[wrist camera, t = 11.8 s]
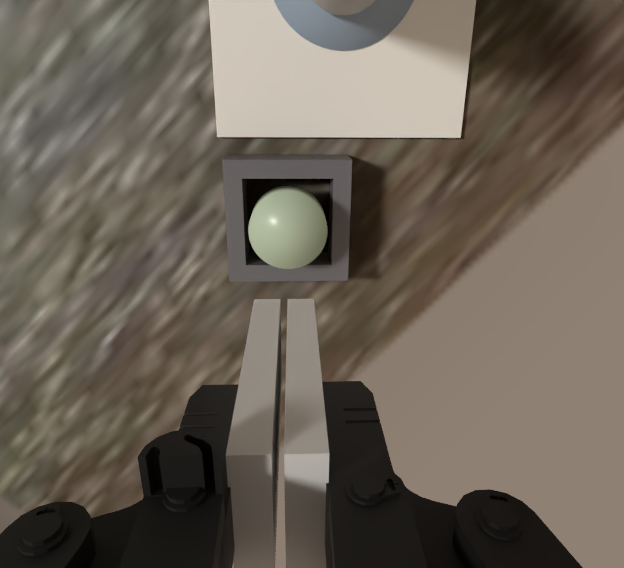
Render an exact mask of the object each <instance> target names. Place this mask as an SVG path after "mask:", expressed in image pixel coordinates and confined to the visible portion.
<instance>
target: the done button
mask: <svg viewBox="0 0 624 568" xmlns="http://www.w3.org/2000/svg"><path fill="white" fill-rule="evenodd" d="M327 232H328V231H327V223H326V219H325V215H324V211H323V208H322V206H321V204H320V203H319V201H318V200H317V199H316V197H315V196H314V195H312V194H311V193H310V192H308V191H307V190H305V189H303V188H300V187H297V186H289V185H286V186H279V187H276V188H273V189H271V190H269V191H268V192H266V193H265V194H264V195H262V196H261V197H260V199H259V200H258V201H257V203H256V204H255V207H254V209H253V212H252V215H251V218H250V221H249V227H248V234H249V240H250V243H251V245H252V248H253V249H254V251H255V252H256V254H257V255H258V256H259V257H260V258H261V259H262V260H263V261H265V262H266V263H268V264H269V265H272V266H274V267H277V268H282V269H295V268H299V267H302V266H305V265H307V264H309V263H310V262H312V261H313V260H314V259H315V258H316V257H317V256H318V255H319V254H320V253H321V251H322V250H323V248H324V246H325V243H326V239H327Z"/></svg>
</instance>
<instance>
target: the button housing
mask: <svg viewBox="0 0 624 568" xmlns="http://www.w3.org/2000/svg"><path fill="white" fill-rule="evenodd" d="M222 165H223V181H224V198H225V215H226V232H227V248H228V265H229V282H237V281H348V265H349V237H350V209H351V181H352V159H351V158H350V157H349V156H348V155H227V156H226V157H225V158H224V159H223V160H222ZM246 179H330V211H329V252H321V253H320V254H319V255H318V256H317V257H316V258H315V259H314V260H313V261H312V262H310V263H309V264H307V265H305V266H302V267H299V268H295V269H282V268H277V267H274V266H272V265H269V264H268V263H266V262H265V261H263V260H262V259H261V258H260V257H259V256H258V255H257V254H256V253H249V237H248V213H247V190H246Z"/></svg>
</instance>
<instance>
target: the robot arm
mask: <svg viewBox="0 0 624 568" xmlns="http://www.w3.org/2000/svg"><path fill="white" fill-rule="evenodd" d="M281 389H282V362H281V309H280V299H254V304H253V309H252V314H251V320H250V325H249V331H248V336H247V342H246V347H245V353H244V358H243V363H242V369H241V374H240V380H239V385H202V386H201V387H200V388H199V389H198V390H197V391H196V392H195V393H194V394H193V395H192V396H191V397H190V398H189V401H188V404H187V407H186V410H185V413H184V416H183V419H182V422H181V425H180V429H179V431H173V432H169V433H167V434H164V435H162V436H159V437H157V438H156V439H154V440H153V441H151V442H150V443H149V444H147V445H146V446H145V447H144V448H143V450H142V451H141V453H140V454H139V456H138V462H139V468H140V475H141V481H142V488H143V494H144V497H143V500H141V501H139V502H138V503H136V504H134V505H132V506H130V507H127V508H124V509H122V510H119V511H116V512H112V513H108V514H105V515H101V516H98V517H94V518H91V517H90V515H89V513H88V512H87V511H86V509H85V508H84V507H83V506H81V505H78V504H76V503H73V502H54V503H50V504H46V505H43V506H39V507H37V508H35V509H33V510H31V511H29V512H27V513H25V514H23V515H21V516H20V517H19V518H18V519H17V520H15V521H14V522H13V523H12V524H11V525H9V526H8V527H7V528H6V529H5V530H4V531H3V532H2V533H1V534H0V568H232V565H233V563H234V568H275V552H276V524H277V497H278V496H277V495H278V470H279V443H280V416H281ZM284 475H285V476H284V477H285V530H286V531H285V532H286V568H582V567H581V566H580V564H579V563H578V562H577V561H576V560H575V559H574V557H573V556H572V555H571V554H570V553H569V552H568V550H567V549H566V548H565V547H564V546H563V545H562V543H561V542H560V541H559V540H558V539H557V538H556V536H555V535H554V534H553V533H552V532H551V531H550V530H549V528H548V527H547V526H546V525H545V524H544V523H543V522H542V520H541V519H540V518H539V517H538V516H537V515H536V514H535V512H534V511H533V510H531V509H530V508H529V507H528V506H527V505H526V504H525V503H523V502H522V501H520V500H518V499H516V498H514V497H512V496H511V495H509V494H507V493H503V492H499V491H494V490H475V491H473V492H470V493H468V494H466V495H464V496H463V497H462V499H461V500H460V501H459V503H458V504H457V507H456V506H452V505H448V504H444V503H439V502H435V501H431V500H429V499H426V498H422V497H420V496H418V495H417V494H415V493H413V492H411V491H410V490H408V489H407V488H406V487H405V485H404V484H403V482H402V480H401V478H399V477H398V476H397V475H396V474H395V473H394V471H393V468H392V465H391V461H390V457H389V453H388V450H387V446H386V442H385V438H384V435H383V431H382V427H381V423H380V420H379V416H378V412H377V410H376V405H375V401H374V397H373V393H372V392H371V391H370V390H369V389H368V388H367V387H365V385H364V384H363V383H362V382H361V381H344V382H322V376H321V367H320V357H319V347H318V337H317V327H316V318H315V308H314V299H288V306H287V349H286V393H285V436H284Z"/></svg>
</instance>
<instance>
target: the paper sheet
mask: <svg viewBox="0 0 624 568" xmlns="http://www.w3.org/2000/svg"><path fill="white" fill-rule="evenodd" d="M475 6H476V0H375V1H374V2H373V3H372V4H371V5H370V6H369V7H367V8H366V9H364V10H363V11H361V12H359V13H355V14H352V15H335V14H332V13H329V12H326V11H324V10H323V9H321V8H320V7H319V6H318V5H316V4H315V3H314V2H313V0H209V13H210V29H211V45H212V61H213V77H214V93H215V109H216V125H217V137H352V138H461V130H462V121H463V112H464V103H465V94H466V86H467V77H468V68H469V59H470V50H471V41H472V33H473V24H474V15H475Z"/></svg>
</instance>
